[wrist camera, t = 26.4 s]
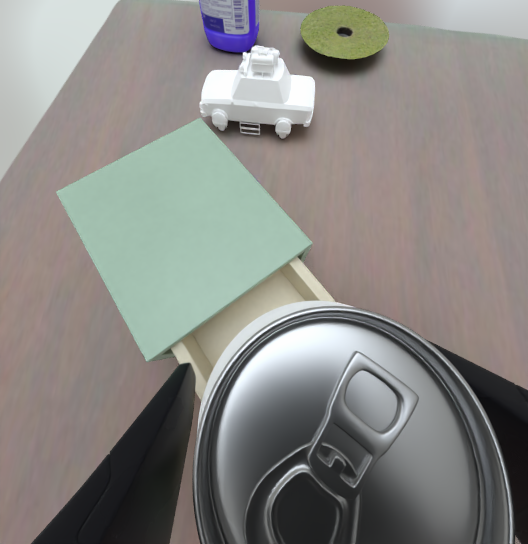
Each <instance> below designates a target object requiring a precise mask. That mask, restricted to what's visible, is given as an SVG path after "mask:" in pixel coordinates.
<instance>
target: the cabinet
mask: <svg viewBox="0 0 528 544" xmlns="http://www.w3.org/2000/svg"><path fill="white" fill-rule="evenodd" d="M56 193H57V195H58V197H59V199H60V200H61V202H62V204H63V206H64V208H65V210H66V212H67V214H68V215H69V217H70V219H71V221H72V223H73V225H74V227H75V229H76V230H77V232H78V234H79V236H80V238H81V240H82V242H83V244H84V245H85V247H86V249H87V251H88V253H89V255H90V257H91V259H92V260H93V262H94V264H95V266H96V268H97V270H98V272H99V274H100V275H101V277H102V279H103V281H104V283H105V285H106V287H107V289H108V290H109V292H110V294H111V296H112V298H113V300H114V302H115V304H116V305H117V307H118V309H119V311H120V313H121V315H122V317H123V319H124V320H125V322H126V324H127V326H128V328H129V330H130V332H131V334H132V335H133V337H134V339H135V341H136V343H137V345H138V347H139V349H140V350H141V352H142V354H143V356H144V358H145V360H146V362H151V361H156V360H161V359H166V358H172V357H175V355H174V353H173V352H172V350H171V347H173V346H174V345H175V344H177V343H178V342H180V341H181V340H182V339H184V338H185V337H187V336H188V335H189V334H191V333H192V332H193V331H195V330H196V329H198V328H199V327H200V326H202V325H203V324H205V323H206V322H207V321H209V320H210V319H212V318H213V317H214V316H216V315H217V314H218V313H220V312H221V311H223V310H224V309H225V308H227V307H228V306H230V305H231V304H232V303H234V302H235V301H236V300H238V299H239V298H241V297H242V296H243V295H245V294H246V293H248V292H249V291H250V290H252V289H253V288H255V287H256V286H257V285H259V284H260V283H261V282H263V281H264V280H266V279H267V278H268V277H270V276H271V275H273V274H274V273H275V272H277V271H278V270H280V269H281V268H282V267H284V266H285V265H286V264H288V263H289V262H291V261H292V260H293V259H295V258H296V257H298V258H299V259H300V260H301V262H302V263H303V262H304V260H305V258H306V256H307V254H308V252H309V250H310V248H311V246H312V244H313V243H312V242H311V241H310V239H309V238H308V237H307V236H306V235H305V234H304V233H303V232H302V230H301V229H300V228H299V227H298V226H297V225H296V224H295V223H294V222H293V220H292V219H291V218H290V217H289V216H288V215H287V214H286V213H285V212H284V210H283V209H282V208H281V207H280V206H279V205H278V204H277V203H276V201H275V200H274V199H273V198H272V197H271V196H270V195H269V194H268V193H267V191H266V190H265V189H264V188H263V187H262V186H261V185H260V184H259V182H258V181H257V180H256V179H255V178H254V177H253V176H252V175H251V174H250V172H249V171H248V170H247V169H246V168H245V167H244V166H243V165H242V164H241V162H240V161H239V160H238V159H237V158H236V157H235V156H234V155H233V153H232V152H231V151H230V150H229V149H228V148H227V147H226V146H225V145H224V143H223V142H222V141H221V140H220V139H219V138H218V137H217V136H216V135H215V133H214V132H213V131H212V130H211V129H210V128H209V127H208V126H207V124H206V123H205V122H204V121H203V120H202V119H201V118H198V119H196V120H194V121H192V122H190V123H189V124H187V125H185V126H183V127H181V128H179V129H177V130H175V131H173V132H171V133H169V134H167V135H165V136H163V137H161V138H159V139H157V140H156V141H154V142H152V143H150V144H148V145H146V146H144V147H142V148H140V149H138V150H136V151H134V152H132V153H130V154H128V155H126V156H124V157H122V158H121V159H119V160H117V161H115V162H113V163H111V164H109V165H107V166H105V167H103V168H101V169H99V170H97V171H95V172H93V173H91V174H89V175H88V176H86V177H84V178H82V179H80V180H78V181H76V182H74V183H72V184H70V185H68V186H66V187H64V188H62V189H60V190H58V191H57V192H56Z"/></svg>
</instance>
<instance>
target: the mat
mask: <svg viewBox="0 0 528 544" xmlns="http://www.w3.org/2000/svg"><path fill="white" fill-rule="evenodd" d="M300 29H301V35H302V38H303V39H304V41H305V42H306V44H308V46H309V47H311V48H312V49H313V50H315V51H316V52H319V53H320V54H324V55H326V56H328V57H329V56H332V57H335V58H336V57H337V58H341V59H343V58H344V59H358V58H363V57H367V56H370V55H373V54H374V53H376V52H378V51H380V50H381V49H382V48H383V47H384V46H385V45H386V43H387V42H388V39H389V31H388V29H387V26H386V25H385V23H384V22H383V21H382V20H381V19H380V18H379V17H378V16H376V15H374V14H372V13H370V12H367V11H365V10H362V9H358V8H355V7H351V6H328V7H325V8H321V9H318V10H315V11H314V12H312V13H310V14H309V15H308V16H306V18H305V19H304V20H303V22H302V24H301V28H300Z"/></svg>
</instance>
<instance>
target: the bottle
mask: <svg viewBox="0 0 528 544" xmlns="http://www.w3.org/2000/svg"><path fill="white" fill-rule="evenodd" d="M199 3H200V8H201V14H202V19H203V25H204V30H205V33H206V36H207V38H208V40H209V42H210V44H211V45H212V46H214V47H215V48H218V49H221V50H225V51H230V52H247V51H248V50H250V49H251V48H252V47H253V45H254V43H255V41H256V38H257V34H258V31H259V0H199Z"/></svg>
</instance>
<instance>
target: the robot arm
mask: <svg viewBox="0 0 528 544" xmlns="http://www.w3.org/2000/svg"><path fill="white" fill-rule="evenodd" d="M425 340H426V339H425ZM427 341H428V340H427ZM428 342H429V343H430V344H432V345H433V346H434V347H435V348H436V349H437V350H438V351H440V352H441V353H442V354H443V355H444V356H445V357H446V358H447V359H448V360H449V361H450V363H451V364H452V365H453V366H454V367H455V368H456V369H457V370H458V372H459V373H460V374H461V375H462V377H463V378H464V379H465V381H466V382H467V383H468V385H469V386H470V388H471V389H472V390H473V392H474V394H475V395H476V397H477V398H478V400H479V402H480V403H481V405H482V407H483V409H484V411H485V412H486V414H487V416H488V418H489V420H490V422H491V425H492V427H493V429H494V431H495V434H496V436H497V439H498V441H499V444H500V447H501V450H502V453H503V456H504V459H505V463H506V466H507V470H508V474H509V479H510V484H511V490H512V496H513V503H514V514H515V535H516V537H517V538H518V540H519V541H520V543H521V544H528V390H526V389H524V388H522V387H520V386H518V385H515V384H514V383H512V382H510V381H508V380H506V379H504V378H502V377H500V376H498V375H496V374H494V373H492V372H490V371H488V370H486V369H484V368H482V367H480V366H478V365H476V364H474V363H472V362H470V361H468V360H466V359H464V358H462V357H460V356H458V355H456V354H454V353H452V352H450V351H448V350H446V349H444V348H442V347H440V346H438V345H436V344H434V343H432V342H430V341H428ZM195 386H196V375H195V372H194V370H193V367H192V364H191V363H189V362H188V363H182V364H180V365H179V366H178V367H177V368H176V370H175V371H174V372H173V373H172V375H171V376H170V377H169V378H168V380H167V381H166V382H165V383H164V385H163V386H162V387H161V389H160V390H159V391H158V392H157V394H156V395H155V396H154V397H153V399H152V400H151V401H150V402H149V404H148V405H147V406H146V407H145V409H144V410H143V411H142V412H141V414H140V415H139V416H138V417H137V419H136V420H135V421H134V422H133V424H132V425H131V426H130V427H129V429H128V430H127V431H126V432H125V434H124V435H123V436H122V437H121V439H120V440H119V441H118V442H117V444H116V445H115V446H114V447H113V449H112V450H111V451H110V454H108V455H107V456H106V457H105V459H104V460H103V461H102V462H101V464H100V465H99V466H98V467H97V469H96V470H95V471H94V472H93V473H92V475H91V476H90V477H89V478H88V479H87V481H86V482H85V483H84V484H83V486H82V487H81V488H80V489H79V490H78V491H77V493H76V494H75V495H74V496H73V497H72V498H71V499H70V501H69V502H68V503H67V504H66V505H65V506H64V507H63V509H62V510H61V511H60V512H59V513H58V514H57V515H56V516H55V518H54V519H53V520H52V521H51V522H50V523H49V524H48V525H47V526H46V528H45V529H44V530H43V531H42V532H41V533H40V534H39V535H38V537H37V538H36V539H35V540H34V541H33V542H32V543H31V544H169V543H170V538H171V532H172V527H173V522H174V516H175V511H176V506H177V500H178V495H179V490H180V484H181V479H182V474H183V468H184V463H185V458H186V452H187V447H188V442H189V436H190V431H191V426H192V419H193V410H194V398H195Z"/></svg>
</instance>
